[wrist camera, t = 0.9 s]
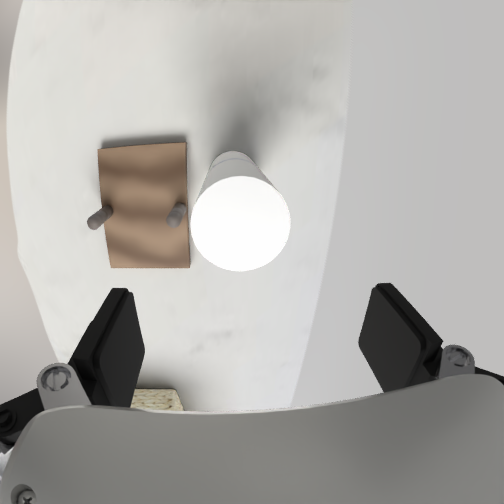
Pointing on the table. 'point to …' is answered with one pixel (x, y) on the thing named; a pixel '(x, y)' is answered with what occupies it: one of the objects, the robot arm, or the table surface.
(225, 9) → the table surface
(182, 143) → the board
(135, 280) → the table surface
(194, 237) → the cylindrical container
